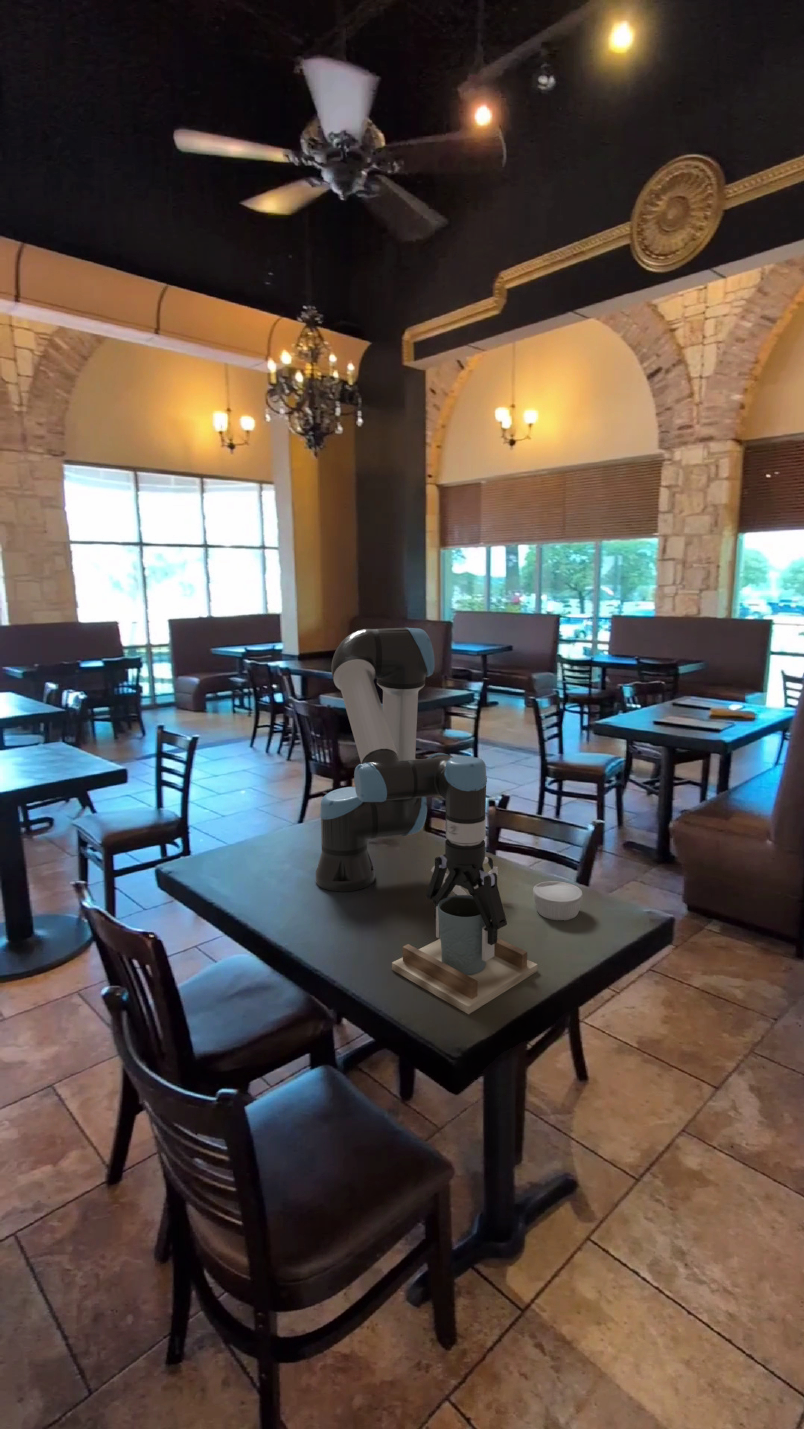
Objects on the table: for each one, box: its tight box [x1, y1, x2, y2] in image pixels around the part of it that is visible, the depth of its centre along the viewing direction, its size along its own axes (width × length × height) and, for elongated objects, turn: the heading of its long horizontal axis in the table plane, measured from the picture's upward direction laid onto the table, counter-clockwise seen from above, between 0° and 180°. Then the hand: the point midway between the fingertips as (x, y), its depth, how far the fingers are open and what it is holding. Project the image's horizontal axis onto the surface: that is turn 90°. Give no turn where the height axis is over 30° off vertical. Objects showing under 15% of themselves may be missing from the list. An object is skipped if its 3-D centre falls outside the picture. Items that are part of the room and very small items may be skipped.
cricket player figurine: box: [430, 856, 499, 895], centre depth 163 cm, size 13×10×15 cm
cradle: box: [391, 937, 538, 1015], centre depth 135 cm, size 20×20×4 cm
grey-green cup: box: [438, 894, 486, 975], centre depth 134 cm, size 10×10×12 cm
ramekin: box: [532, 880, 584, 921], centre depth 159 cm, size 11×11×5 cm
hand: (464, 946), depth 134 cm, fingers open, 11 cm apart
